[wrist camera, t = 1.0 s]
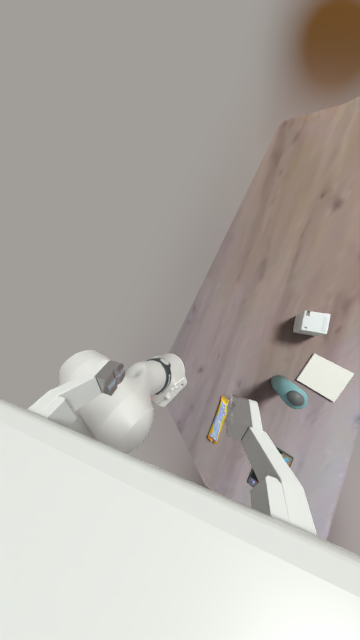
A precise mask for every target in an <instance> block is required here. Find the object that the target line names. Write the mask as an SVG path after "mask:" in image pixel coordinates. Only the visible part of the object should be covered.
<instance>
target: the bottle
mask: <svg viewBox="0 0 360 640" xmlns="http://www.w3.org/2000/svg"><path fill="white" fill-rule="evenodd" d="M271 386H272V387H273V389H274V390H275V391H276V392H277V394H278V395H279V396H280V397H281V398H282V400H283V401H284V402H285V403H286V404H287V405H288V406H289V407H291V408H294V409H302V408H304V407H305V406H306V405H307V403H308V398H307V395H306V393H305V392H304V391H303V390H302V389H300V388H299V387H297V386H296V385H295V384H293V383H292V382H290V381H289V380H287V379H286V378H285V377H283V376H280V375H276V376H274V377H272V378H271Z"/></svg>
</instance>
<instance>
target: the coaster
mask: <svg viewBox="0 0 360 640" xmlns="http://www.w3.org/2000/svg"><path fill="white" fill-rule="evenodd" d="M353 375H354V373H352V372H350V371H348V370H346V369H344V368H342V367H340V366H338V365H336V364H334V363H332V362H330V361H328V360H326V359H324V358H322V357H320V356H318V355H316V354H313V355H312V357H311V358H310V360H309V361H308V362H307V364H306V365H305V367H304V368H303V370H302V371H301V373H300V374H299V376H298V377H297V379H296V380H298V381H300V382H301V383H303V384H305V385H306V386H308V387H310V388H311V389H313V390H315V391H316V392H318V393H320V394H321V395H323V396H325V397H326V398H328V399H330V400H331V401H333V402H335V400H336V399H337V398H338V396H339V395H340V393H341V392H342V390H343V389H344V388H345V386H346V385H347V383H348V382H349V380H350V379H351V378H352V376H353Z"/></svg>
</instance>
